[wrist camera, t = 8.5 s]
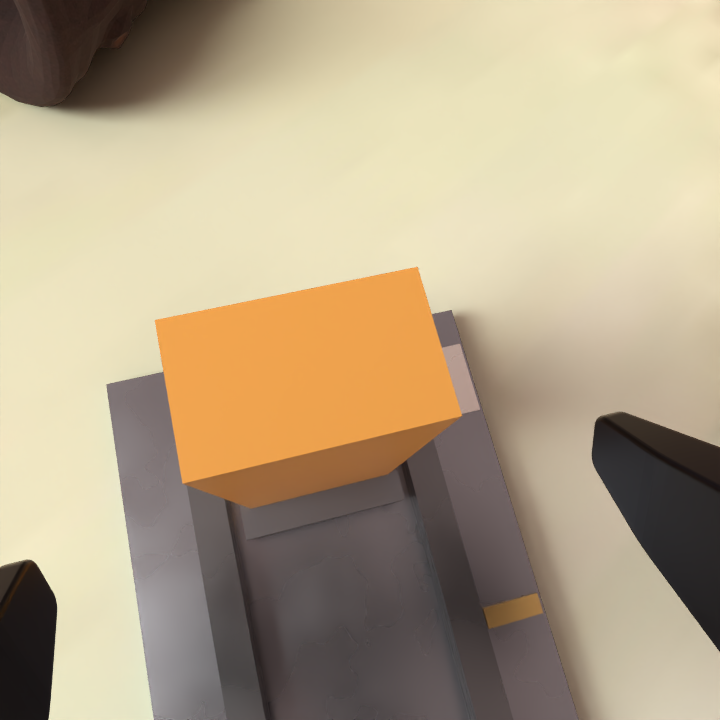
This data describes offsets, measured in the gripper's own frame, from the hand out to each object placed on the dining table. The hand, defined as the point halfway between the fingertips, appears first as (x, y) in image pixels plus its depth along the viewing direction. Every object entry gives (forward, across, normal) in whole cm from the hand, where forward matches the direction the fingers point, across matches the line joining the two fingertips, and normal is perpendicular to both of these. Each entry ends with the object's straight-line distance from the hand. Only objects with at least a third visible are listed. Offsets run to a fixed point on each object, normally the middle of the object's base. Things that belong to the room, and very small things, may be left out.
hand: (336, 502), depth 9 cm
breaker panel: (+5, 0, +10) cm, 11 cm away
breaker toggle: (+8, 0, +6) cm, 10 cm away
